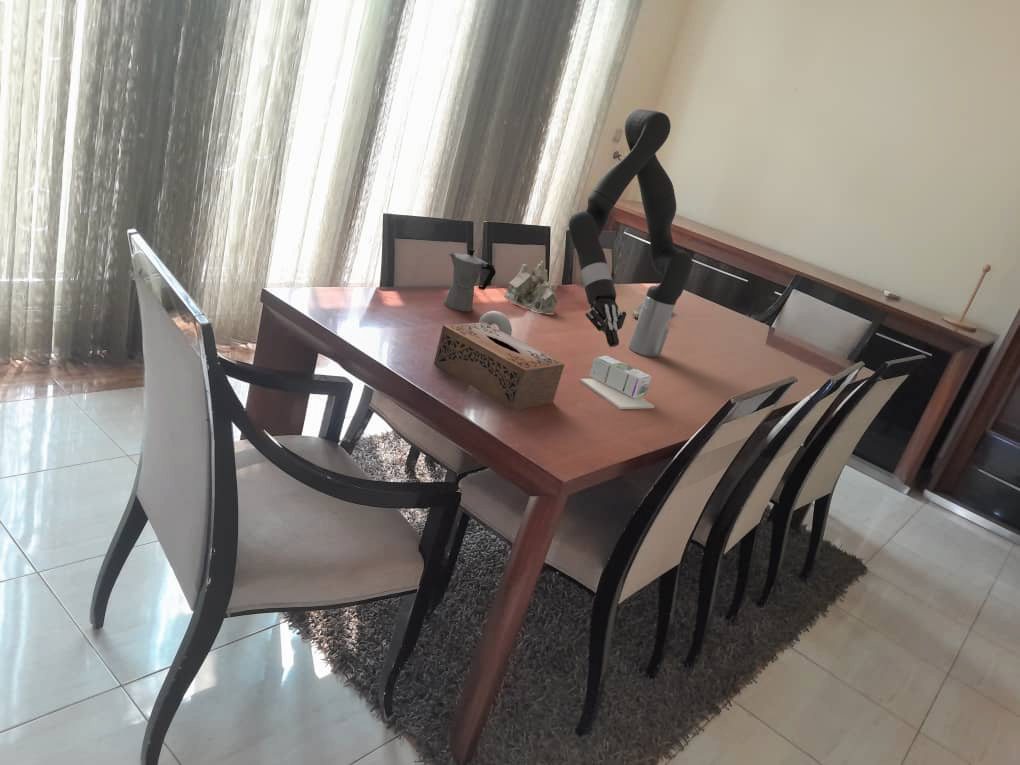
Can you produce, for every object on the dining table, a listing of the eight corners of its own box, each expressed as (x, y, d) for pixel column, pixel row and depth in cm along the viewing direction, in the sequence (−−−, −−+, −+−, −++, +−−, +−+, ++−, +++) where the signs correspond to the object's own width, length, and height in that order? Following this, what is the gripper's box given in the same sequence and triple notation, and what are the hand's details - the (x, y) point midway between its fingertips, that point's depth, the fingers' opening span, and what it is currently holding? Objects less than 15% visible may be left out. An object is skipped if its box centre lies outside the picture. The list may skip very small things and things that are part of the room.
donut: (471, 341, 198) (480, 306, 194) (478, 339, 201) (486, 304, 197) (502, 355, 194) (512, 319, 190) (508, 353, 197) (518, 318, 193)
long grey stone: (675, 317, 298) (651, 310, 301) (679, 304, 296) (655, 297, 300) (651, 325, 267) (625, 317, 270) (655, 311, 265) (629, 303, 269)
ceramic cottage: (499, 293, 252) (512, 252, 246) (542, 302, 258) (556, 262, 253) (512, 311, 239) (527, 268, 233) (557, 321, 245) (572, 279, 240)
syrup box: (588, 376, 194) (634, 400, 187) (594, 356, 192) (641, 379, 184) (600, 373, 199) (645, 396, 191) (606, 353, 196) (652, 376, 189)
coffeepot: (432, 301, 222) (445, 243, 216) (445, 297, 231) (458, 241, 225) (478, 318, 219) (493, 260, 212) (489, 313, 227) (504, 256, 221)
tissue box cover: (552, 403, 172) (564, 364, 169) (513, 412, 161) (525, 370, 158) (474, 359, 186) (484, 322, 183) (433, 364, 175) (443, 325, 172)
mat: (579, 380, 191) (580, 378, 191) (612, 380, 198) (613, 378, 198) (619, 409, 179) (620, 407, 179) (653, 408, 186) (654, 405, 186)
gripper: (589, 275, 187) (605, 339, 182) (626, 279, 195) (642, 341, 190) (570, 288, 193) (585, 350, 188) (607, 291, 200) (622, 351, 196)
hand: (614, 345), depth 189 cm, fingers closed
